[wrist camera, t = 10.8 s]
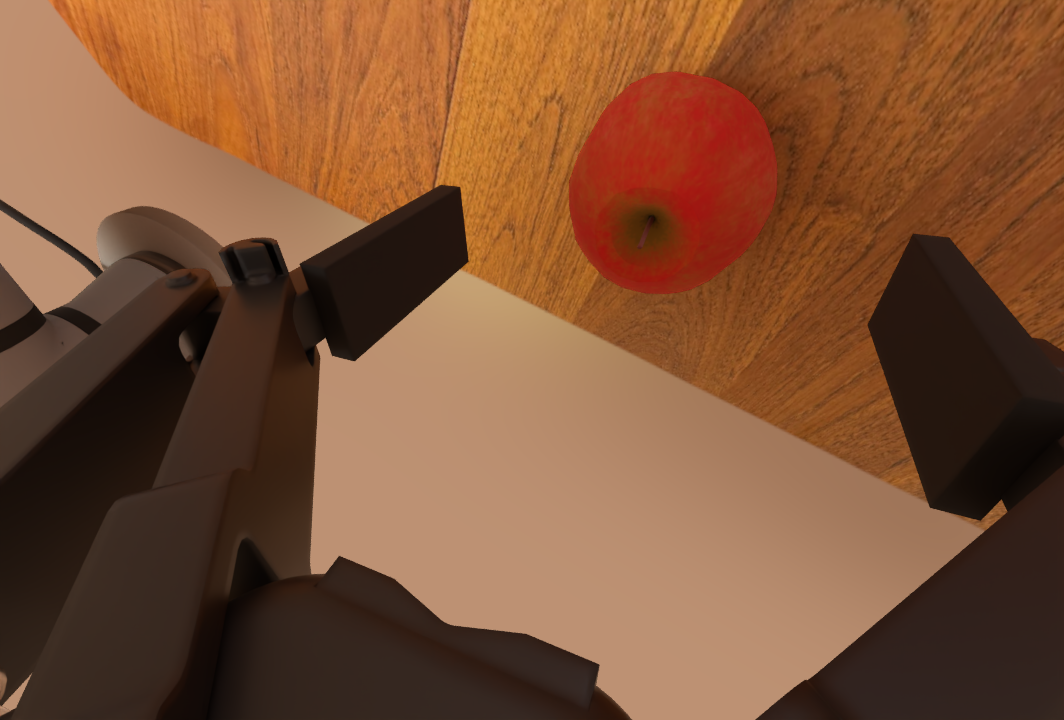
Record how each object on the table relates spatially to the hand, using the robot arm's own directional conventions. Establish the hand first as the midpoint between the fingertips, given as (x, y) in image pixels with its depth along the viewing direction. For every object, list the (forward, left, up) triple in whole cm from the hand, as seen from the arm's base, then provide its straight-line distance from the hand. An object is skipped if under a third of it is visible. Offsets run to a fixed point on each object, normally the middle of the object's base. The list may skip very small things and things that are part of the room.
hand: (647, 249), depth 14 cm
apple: (0, 0, -11) cm, 11 cm away
